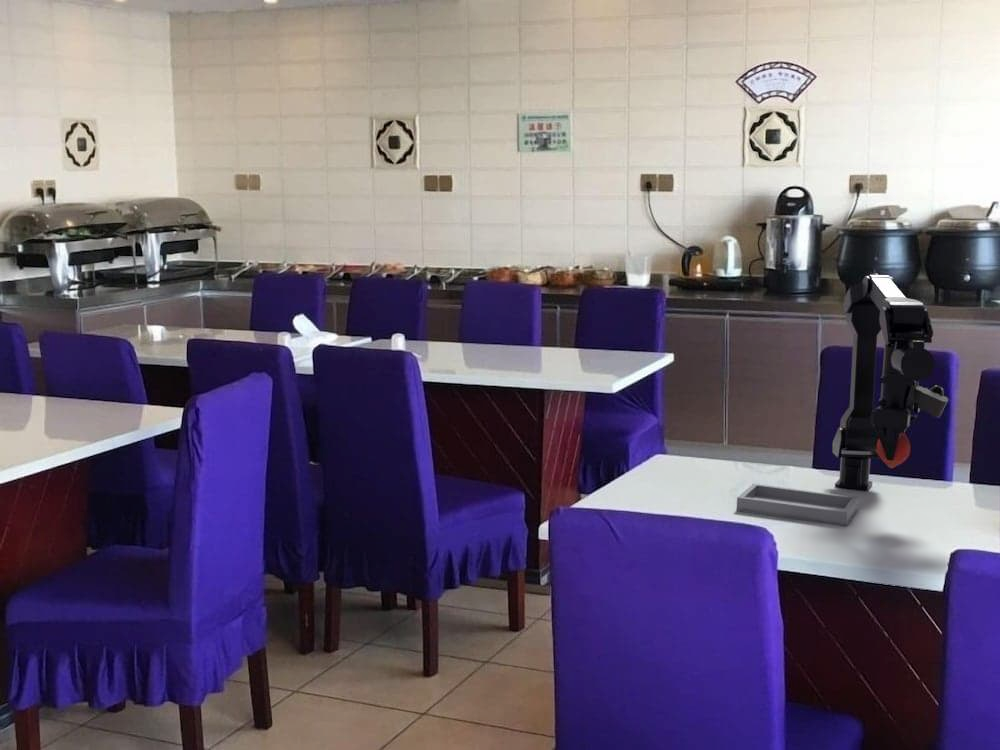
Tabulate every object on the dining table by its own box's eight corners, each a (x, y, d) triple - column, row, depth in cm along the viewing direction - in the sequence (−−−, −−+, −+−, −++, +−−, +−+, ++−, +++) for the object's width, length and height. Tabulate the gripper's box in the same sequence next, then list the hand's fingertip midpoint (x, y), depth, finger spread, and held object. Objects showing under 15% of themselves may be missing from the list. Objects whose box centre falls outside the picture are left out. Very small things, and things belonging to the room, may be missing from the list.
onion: (909, 465, 221) (912, 422, 219) (908, 472, 215) (912, 428, 214) (875, 462, 223) (878, 420, 221) (874, 469, 217) (877, 426, 216)
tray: (752, 496, 235) (753, 483, 235) (857, 510, 227) (858, 497, 226) (736, 510, 224) (737, 497, 224) (846, 526, 216) (847, 512, 215)
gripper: (941, 383, 204) (933, 473, 207) (952, 368, 221) (945, 452, 223) (873, 377, 209) (866, 465, 212) (889, 363, 226) (882, 445, 228)
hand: (892, 456), depth 219 cm, fingers closed on onion, 6 cm apart
